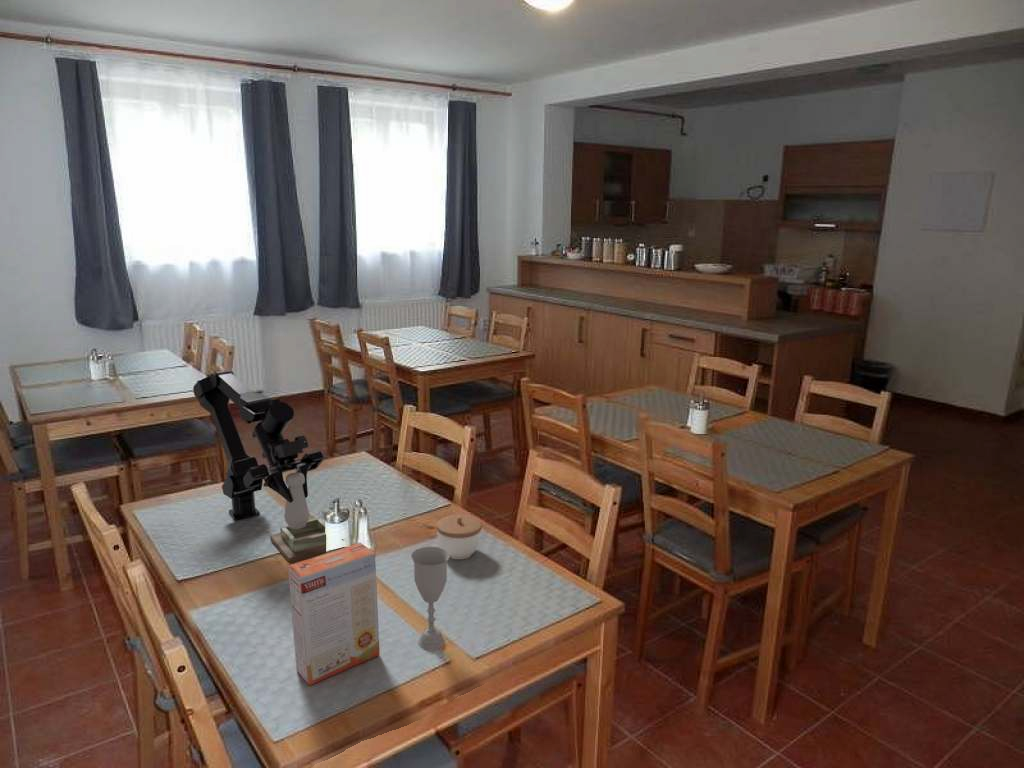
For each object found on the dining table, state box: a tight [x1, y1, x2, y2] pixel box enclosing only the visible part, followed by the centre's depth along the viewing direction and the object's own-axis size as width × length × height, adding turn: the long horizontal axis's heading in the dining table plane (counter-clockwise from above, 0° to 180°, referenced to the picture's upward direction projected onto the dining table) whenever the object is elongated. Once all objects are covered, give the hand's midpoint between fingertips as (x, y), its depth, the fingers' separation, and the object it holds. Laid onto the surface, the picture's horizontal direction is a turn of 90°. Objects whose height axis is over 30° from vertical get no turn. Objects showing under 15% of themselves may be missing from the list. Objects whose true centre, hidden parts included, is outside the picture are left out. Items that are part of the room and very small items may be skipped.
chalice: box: [410, 546, 450, 651], centre depth 130 cm, size 7×7×18 cm
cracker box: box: [287, 542, 381, 686], centre depth 123 cm, size 14×6×21 cm, turn 129°
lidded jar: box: [436, 513, 483, 560], centre depth 165 cm, size 11×11×9 cm
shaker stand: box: [269, 517, 326, 564], centre depth 170 cm, size 14×14×4 cm
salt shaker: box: [283, 472, 311, 529], centre depth 164 cm, size 6×6×13 cm
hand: (299, 499), depth 163 cm, fingers closed on salt shaker, 3 cm apart
